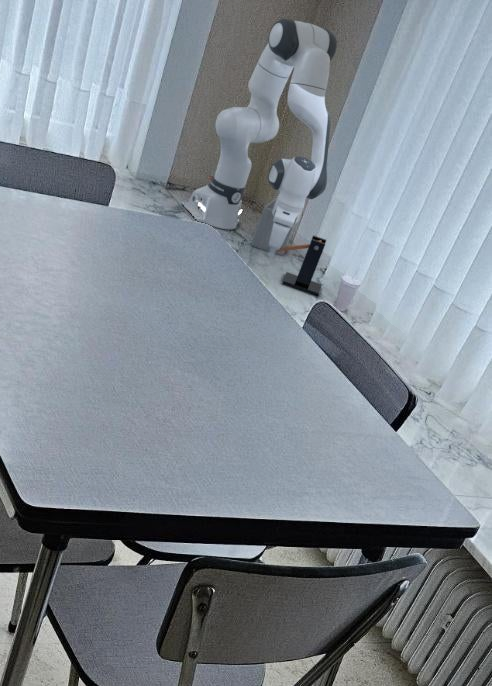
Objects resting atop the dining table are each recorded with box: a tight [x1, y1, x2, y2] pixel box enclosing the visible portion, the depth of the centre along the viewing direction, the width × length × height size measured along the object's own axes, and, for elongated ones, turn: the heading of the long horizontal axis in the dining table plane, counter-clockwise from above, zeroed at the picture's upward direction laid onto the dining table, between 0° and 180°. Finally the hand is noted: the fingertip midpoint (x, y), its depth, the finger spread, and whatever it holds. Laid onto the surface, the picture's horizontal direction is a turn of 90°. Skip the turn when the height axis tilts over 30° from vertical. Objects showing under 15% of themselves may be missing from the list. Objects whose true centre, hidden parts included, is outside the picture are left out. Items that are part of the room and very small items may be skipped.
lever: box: [268, 240, 322, 253], centre depth 315 cm, size 16×5×2 cm, turn 76°
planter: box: [250, 197, 296, 256], centre depth 337 cm, size 16×8×19 cm, turn 123°
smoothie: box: [333, 267, 362, 312], centre depth 310 cm, size 6×6×14 cm
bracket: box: [281, 235, 327, 298], centre depth 317 cm, size 12×9×16 cm
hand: (272, 253), depth 318 cm, fingers closed on lever, 5 cm apart
